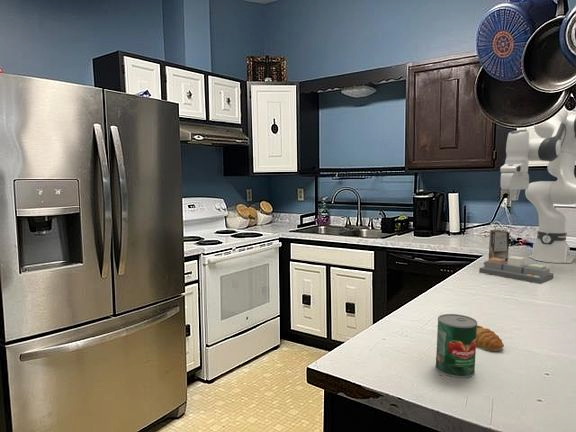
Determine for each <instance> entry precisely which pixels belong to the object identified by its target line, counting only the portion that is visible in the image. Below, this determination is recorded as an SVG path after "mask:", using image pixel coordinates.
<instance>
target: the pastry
mask: <svg viewBox="0 0 576 432" xmlns="http://www.w3.org/2000/svg"><path fill="white" fill-rule="evenodd" d="M476 347H477V348H480V349H483V350H485V351H490V352H498V351H502V350H503V348H504V347H505V345H504V343H503V339H501V338H500V336H499V335H497V334H496V333H495V332H494V331H493V330H491V329H490V328H487V327H483V326H481V325H479V324H477V336H476Z"/></svg>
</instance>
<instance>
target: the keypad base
mask: <svg viewBox="0 0 576 432" xmlns="http://www.w3.org/2000/svg"><path fill="white" fill-rule="evenodd" d="M483 265H484V266H482V267H479V271H478V272H479V273H480V274H485V275H490V276H496V277H503V278H506V279H507V278H508V279H513V280H516V281H517V280H518V281H524V282H529V283H533V284H534V283H535V284H539V285H541V284H543V283H546V282H547V281H550V280H553V279H554V275H555V273H553V272H551V268H549V267H546V269H544V270H537V269H531V268H528V265H529V264H525V266H521V267H518V266H512V265H508V262H506V261H505V262H504V263H501V264H500V263H494V262H489V259H488V260H485V261H484V262H483Z"/></svg>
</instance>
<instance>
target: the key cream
mask: <svg viewBox="0 0 576 432" xmlns="http://www.w3.org/2000/svg"><path fill="white" fill-rule="evenodd" d="M525 262H526V257H522V256H516V255H512V256H508V265H512V266H518V267H521V266H525V265H526V264H525Z"/></svg>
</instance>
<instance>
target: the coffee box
mask: <svg viewBox="0 0 576 432" xmlns="http://www.w3.org/2000/svg"><path fill="white" fill-rule="evenodd" d="M488 243H489V245H488V260H489V259H490V258H500V259H505V261H506V262H508V257H509V249H510V248H509V247H510V232H509V231H507V230H504V229H503V230H502V229H490V230H489V242H488Z"/></svg>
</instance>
